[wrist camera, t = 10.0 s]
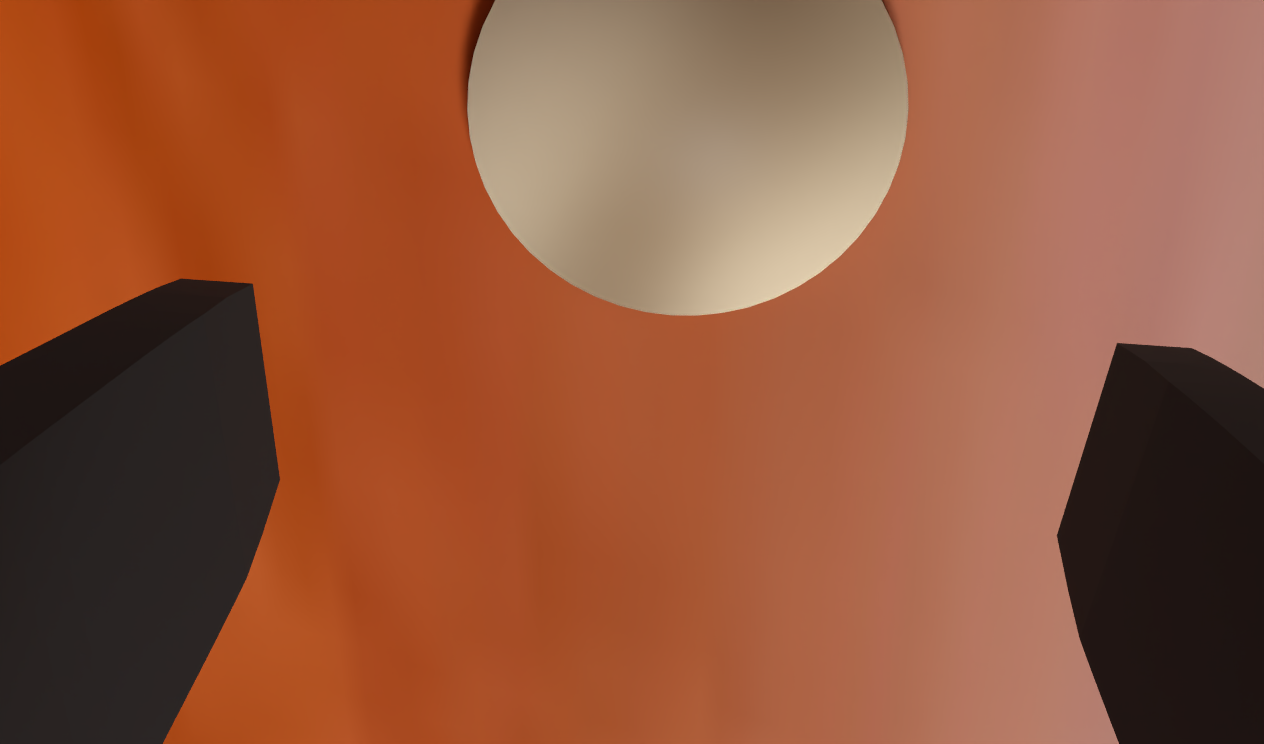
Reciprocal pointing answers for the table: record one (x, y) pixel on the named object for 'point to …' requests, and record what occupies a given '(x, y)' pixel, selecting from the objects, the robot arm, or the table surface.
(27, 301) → the table surface
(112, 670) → the robot arm
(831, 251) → the coaster
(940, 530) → the table surface
